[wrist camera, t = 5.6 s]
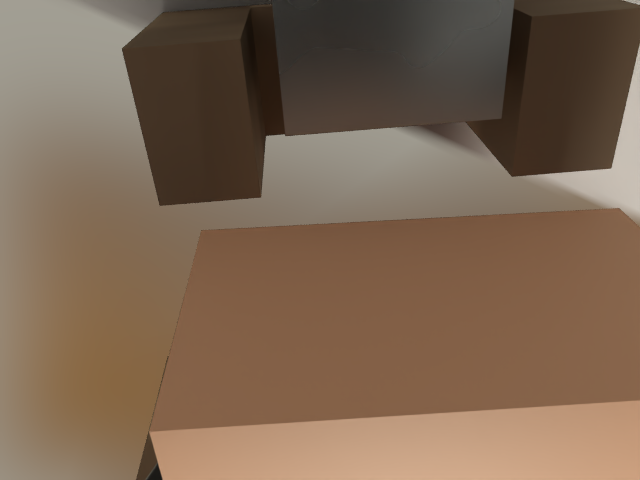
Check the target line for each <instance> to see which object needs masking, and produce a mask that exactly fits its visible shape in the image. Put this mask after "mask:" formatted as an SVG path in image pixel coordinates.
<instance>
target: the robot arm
mask: <svg viewBox="0 0 640 480" xmlns="http://www.w3.org/2000/svg"><path fill="white" fill-rule="evenodd" d="M145 480H163V479H162V475H161V472H160V468H159V465H158V462H157V464H156V465H155V466H154V468H153V469H152V471H151V472H150V474H149V475H148V477H147V478H146V479H145Z"/></svg>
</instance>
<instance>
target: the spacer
mask: <svg viewBox="0 0 640 480" xmlns="http://www.w3.org/2000/svg"><path fill="white" fill-rule="evenodd" d="M149 433H150V436H151V440H152V443H153V447H154V451H155V454H156V458H157V461H158V465H159V468H160V472H161V475H162V479H163V480H640V227H639V226H638V225H637V224H636V223H635V222H634V221H633V220H631V219H630V218H629V217H628V216H627V215H626V214H625V213H624V212H623V211H621V210H620V209H619V208H613V209H595V210H576V211H557V212H538V213H519V214H502V215H501V214H500V215H482V216H463V217H444V218H425V219H406V220H388V221H368V222H350V223H331V224H313V225H293V226H276V227H256V228H237V229H218V230H201V234H200V237H199V241H198V245H197V249H196V253H195V257H194V261H193V265H192V268H191V272H190V277H189V280H188V284H187V288H186V292H185V296H184V299H183V303H182V307H181V311H180V315H179V319H178V322H177V326H176V330H175V334H174V338H173V342H172V346H171V349H170V353H169V357H168V361H167V365H166V369H165V373H164V377H163V380H162V384H161V388H160V392H159V396H158V400H157V404H156V407H155V411H154V415H153V419H152V423H151V427H150V431H149Z"/></svg>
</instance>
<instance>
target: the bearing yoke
mask: <svg viewBox="0 0 640 480" xmlns="http://www.w3.org/2000/svg"><path fill="white" fill-rule="evenodd" d="M639 44H640V5H637V4H633V3H630V2H626V1H623V0H514V9H513V18H512V27H511V36H510V45H509V54H508V63H507V72H506V82H505V91H504V100H503V109H502V118H501V119H491V120H479V121H466V123H467V124H468V125H469V126H470V128H471V129H472V130H473V131H474V132H475V134H476V135H477V136H478V137H479V138H480V140H481V141H482V142H483V143H484V144H485V145H486V147H487V148H488V149H489V150H490V151H491V153H492V154H493V155H494V156H495V157H496V158H497V160H498V161H499V162H500V163H501V164H502V166H503V167H504V168H505V169H506V170H507V171H508V173H509V174H510V175H511V176H512V177H513V176H526V175H538V174H550V173H562V172H574V171H586V170H598V169H610V168H611V167H612V163H613V158H614V154H615V150H616V145H617V141H618V136H619V132H620V128H621V123H622V119H623V114H624V110H625V106H626V101H627V97H628V92H629V88H630V84H631V79H632V75H633V70H634V66H635V61H636V57H637V53H638V48H639ZM122 51H123V55H124V59H125V64H126V68H127V72H128V76H129V80H130V84H131V88H132V93H133V96H134V101H135V105H136V109H137V113H138V118H139V122H140V126H141V130H142V134H143V138H144V142H145V147H146V151H147V155H148V159H149V163H150V167H151V172H152V176H153V180H154V184H155V188H156V192H157V196H158V201H159V205H160V206H162V205H175V204H187V203H199V202H211V201H223V200H235V199H248V198H260V197H261V190H262V178H263V165H264V152H265V140H266V136H269V135H281V134H285V126H284V117H283V107H282V97H281V87H280V77H279V67H278V57H277V47H276V37H275V27H274V18H273V8H272V4H264V5H251V6H238V7H225V8H212V9H199V10H186V11H174V12H163V13H162V14H161V15H159V16H158V17H157V18H156V19H155V20H154V21H153V22H152V23H150V24H149V25H148V26H147V27H146V28H145V29H144V30H142V31H141V32H140V33H139V34H138V35H137V36H136V37H135V38H133V39H132V40H131V41H130V42H129V43H128V44H127V45H125V46H124V47H123V48H122Z"/></svg>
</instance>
